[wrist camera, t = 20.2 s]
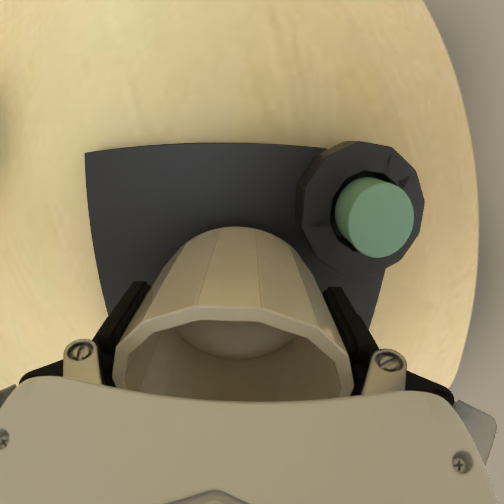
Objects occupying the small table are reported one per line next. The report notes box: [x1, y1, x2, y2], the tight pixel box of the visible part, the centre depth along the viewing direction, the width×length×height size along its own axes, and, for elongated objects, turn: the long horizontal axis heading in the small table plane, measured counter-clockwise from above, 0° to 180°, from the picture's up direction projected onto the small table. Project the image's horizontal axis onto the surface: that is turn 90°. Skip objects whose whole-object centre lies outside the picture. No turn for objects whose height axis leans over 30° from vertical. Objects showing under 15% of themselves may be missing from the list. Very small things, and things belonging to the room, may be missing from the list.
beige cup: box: [112, 227, 354, 402], centre depth 10 cm, size 7×7×6 cm
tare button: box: [335, 177, 414, 258], centre depth 10 cm, size 3×3×2 cm
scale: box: [85, 141, 424, 330], centre depth 14 cm, size 16×14×3 cm
